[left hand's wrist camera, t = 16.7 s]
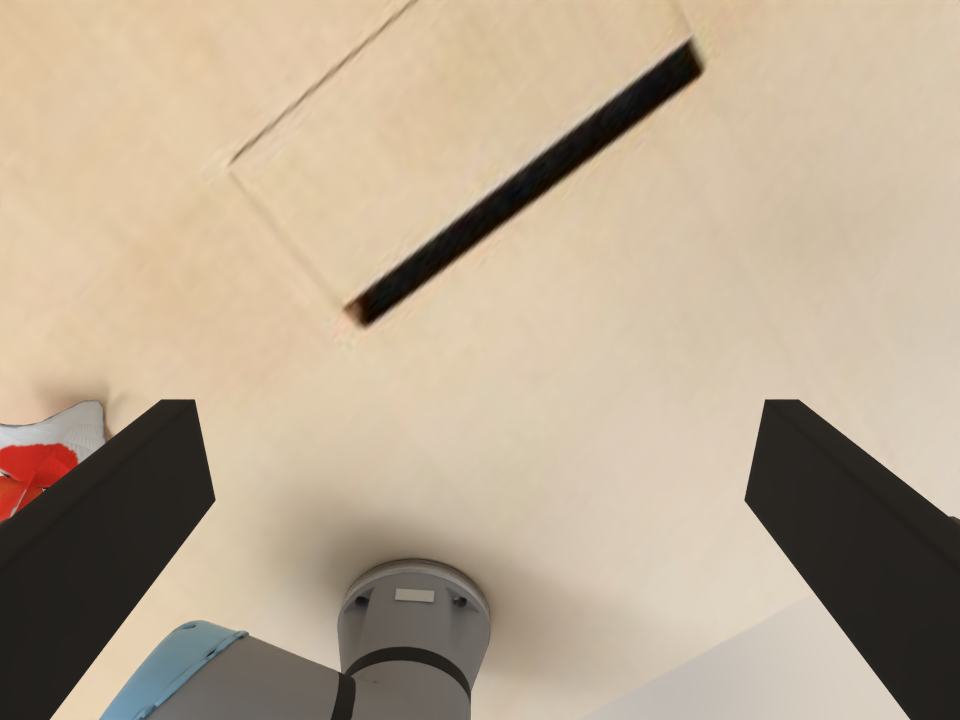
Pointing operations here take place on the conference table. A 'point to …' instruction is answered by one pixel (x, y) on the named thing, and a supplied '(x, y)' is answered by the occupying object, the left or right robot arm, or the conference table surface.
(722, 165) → the conference table surface
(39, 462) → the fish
